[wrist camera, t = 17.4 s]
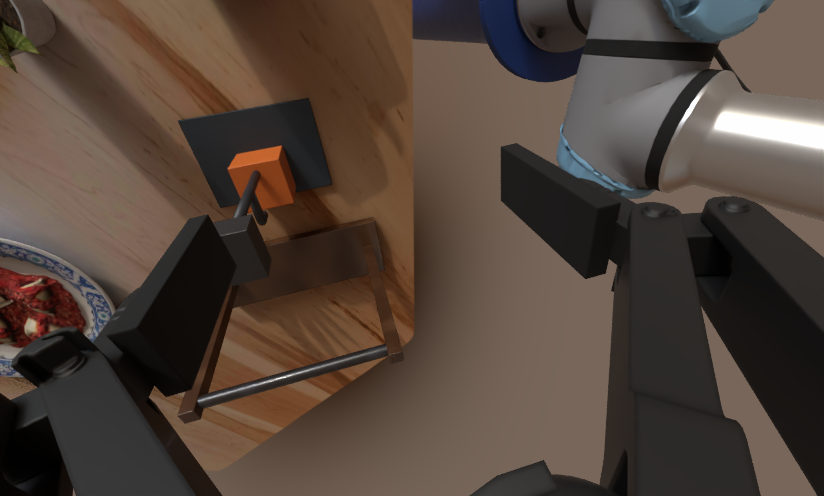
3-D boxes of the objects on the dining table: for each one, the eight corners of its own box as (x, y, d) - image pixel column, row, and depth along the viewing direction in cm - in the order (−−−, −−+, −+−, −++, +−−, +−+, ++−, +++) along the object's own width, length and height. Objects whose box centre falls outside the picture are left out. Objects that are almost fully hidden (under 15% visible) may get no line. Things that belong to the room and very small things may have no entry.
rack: (373, 216, 55) (408, 321, 35) (383, 265, 61) (418, 379, 41) (207, 254, 52) (140, 395, 32) (234, 302, 57) (192, 447, 37)
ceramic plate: (120, 244, 48) (109, 255, 45) (127, 368, 59) (119, 382, 57) (-163, 206, 38) (-196, 218, 36) (-89, 363, 49) (-110, 380, 47)
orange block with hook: (282, 145, 46) (262, 220, 27) (296, 186, 49) (286, 278, 31) (236, 153, 45) (183, 237, 26) (253, 194, 48) (217, 294, 30)
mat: (308, 98, 44) (308, 98, 44) (332, 183, 51) (332, 184, 50) (178, 120, 42) (177, 121, 41) (221, 206, 48) (220, 207, 48)
